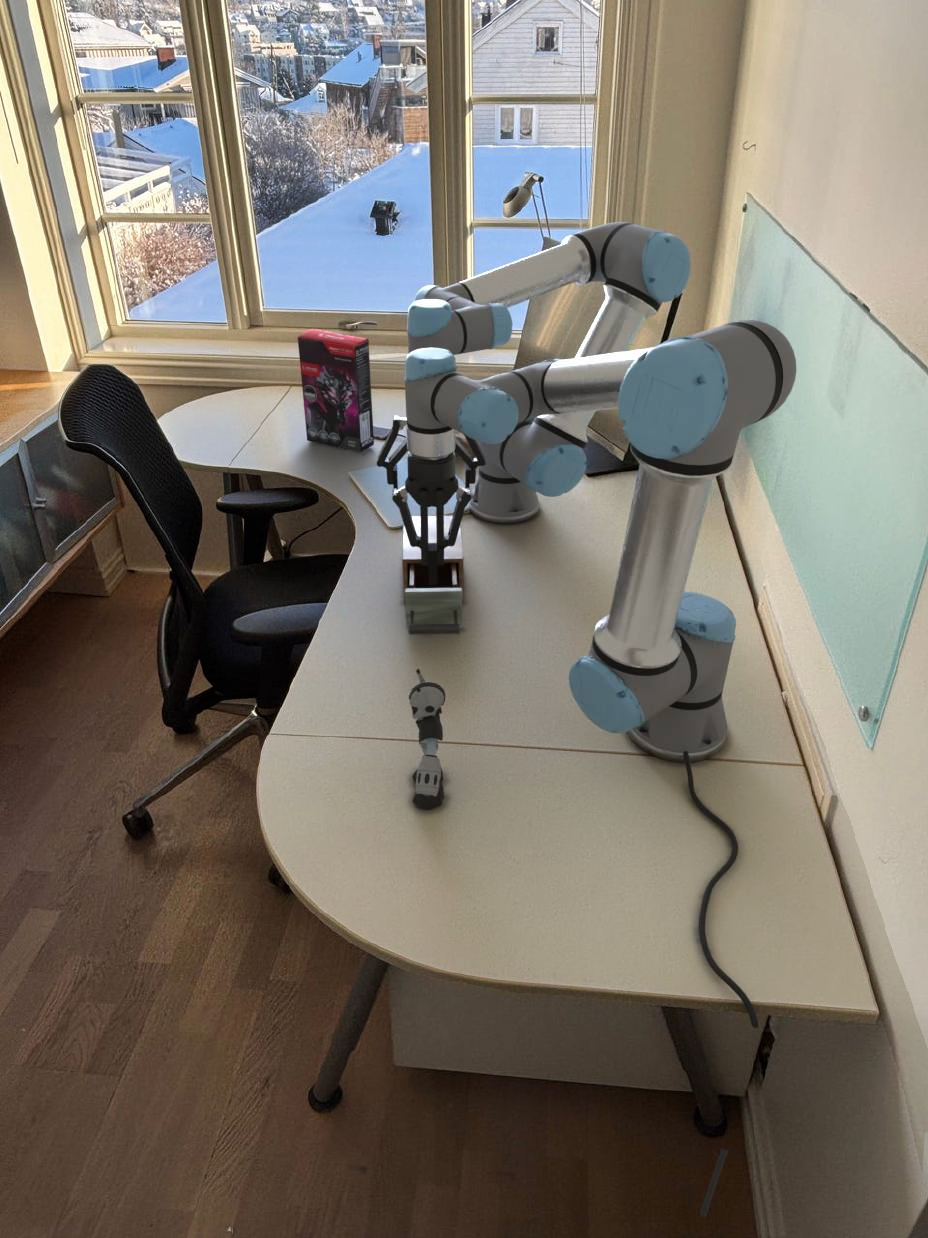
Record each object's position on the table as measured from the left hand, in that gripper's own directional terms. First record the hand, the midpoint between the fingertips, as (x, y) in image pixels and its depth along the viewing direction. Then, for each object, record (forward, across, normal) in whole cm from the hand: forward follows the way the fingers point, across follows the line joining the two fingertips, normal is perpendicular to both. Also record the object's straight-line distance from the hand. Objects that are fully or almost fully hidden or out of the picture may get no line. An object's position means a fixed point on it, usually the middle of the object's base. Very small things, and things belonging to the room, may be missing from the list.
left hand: (431, 498), depth 176 cm
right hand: (+2, 0, +26) cm, 26 cm away
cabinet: (+15, 0, +6) cm, 16 cm away
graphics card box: (+15, +23, -61) cm, 67 cm away
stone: (+15, -4, -59) cm, 61 cm away
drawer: (+14, 0, +19) cm, 23 cm away
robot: (+15, +1, +63) cm, 65 cm away
